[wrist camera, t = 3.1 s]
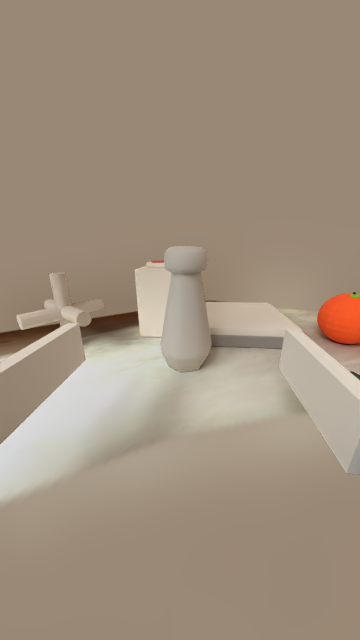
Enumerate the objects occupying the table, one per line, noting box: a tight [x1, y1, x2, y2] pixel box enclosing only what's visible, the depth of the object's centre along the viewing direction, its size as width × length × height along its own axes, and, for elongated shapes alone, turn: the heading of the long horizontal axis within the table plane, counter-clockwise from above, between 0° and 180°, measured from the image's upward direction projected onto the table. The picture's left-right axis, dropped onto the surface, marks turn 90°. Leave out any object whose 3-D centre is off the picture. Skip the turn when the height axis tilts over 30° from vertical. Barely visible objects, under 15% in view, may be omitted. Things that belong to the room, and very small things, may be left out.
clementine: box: [317, 292, 360, 344], centre depth 28 cm, size 8×7×7 cm
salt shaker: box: [161, 246, 212, 372], centre depth 22 cm, size 6×6×13 cm
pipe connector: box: [16, 272, 104, 330], centre depth 27 cm, size 10×10×10 cm
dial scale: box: [135, 260, 303, 349], centre depth 34 cm, size 23×15×11 cm, turn 85°
